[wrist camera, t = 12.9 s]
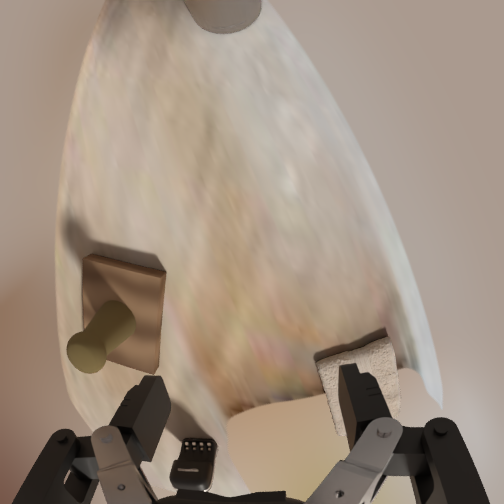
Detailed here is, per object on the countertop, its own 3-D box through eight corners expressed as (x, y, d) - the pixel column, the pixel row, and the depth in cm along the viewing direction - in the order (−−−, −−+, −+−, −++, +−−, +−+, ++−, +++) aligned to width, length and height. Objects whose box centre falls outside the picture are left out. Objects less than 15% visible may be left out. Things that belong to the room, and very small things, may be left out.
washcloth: (336, 430, 48) (338, 442, 45) (312, 357, 44) (314, 369, 41) (398, 409, 46) (403, 420, 43) (387, 331, 42) (393, 341, 39)
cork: (103, 293, 40) (60, 328, 30) (140, 311, 40) (104, 354, 30) (96, 326, 42) (58, 365, 31) (131, 344, 42) (98, 389, 31)
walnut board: (91, 253, 41) (82, 258, 39) (166, 272, 41) (160, 278, 39) (92, 344, 46) (86, 352, 43) (158, 365, 46) (154, 374, 43)
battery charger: (215, 435, 49) (205, 484, 38) (219, 448, 50) (211, 495, 39) (179, 434, 50) (164, 480, 39) (184, 447, 51) (171, 491, 40)
